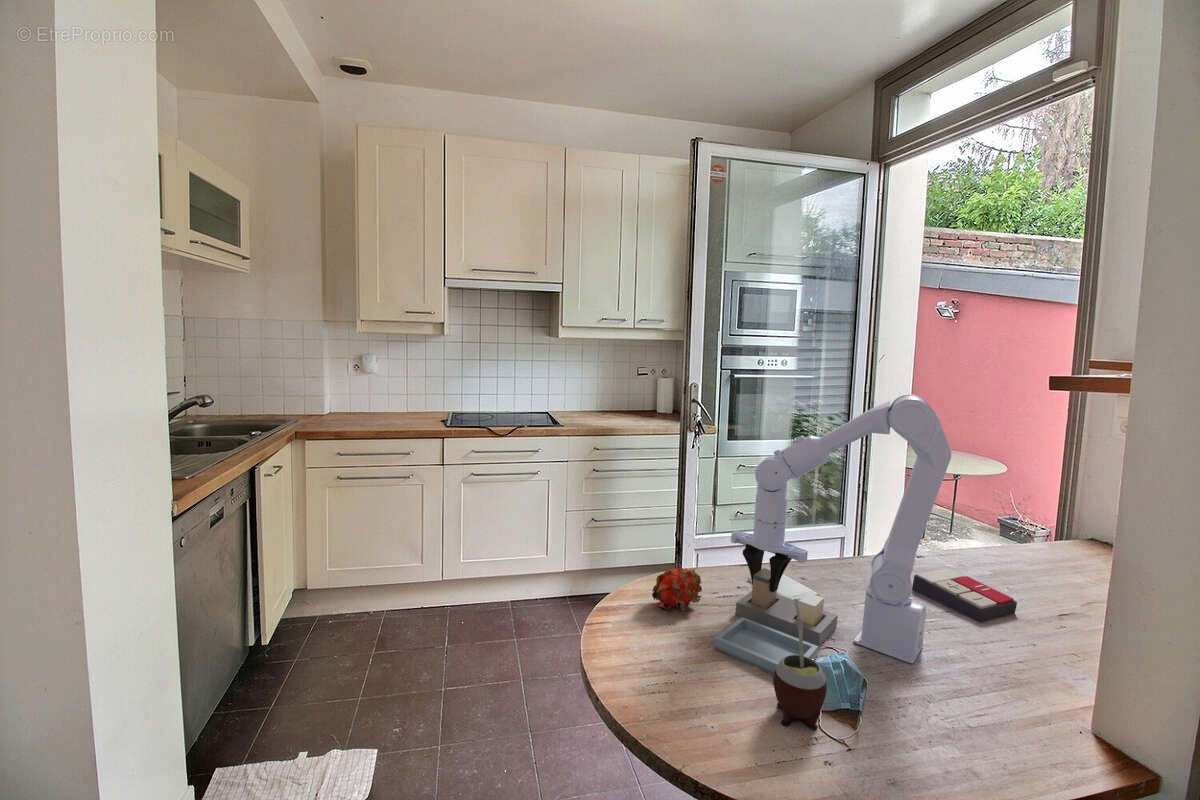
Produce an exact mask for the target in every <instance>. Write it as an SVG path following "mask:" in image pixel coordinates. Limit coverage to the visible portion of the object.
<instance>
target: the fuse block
mask: <svg viewBox="0 0 1200 800" xmlns="http://www.w3.org/2000/svg"><path fill="white" fill-rule="evenodd" d="M751 600H752V590H751V591H749V592H748V593H747V594H745V595H744V596H743V597H741V598H740V599H739V600H738V601H736V602H735V615H736V616H738V617H740V618H741V617H744V618H746V619H749V620H751V621H754V622H757V623H759V624H762V625H764V626H767V627H770V628H772V629H775V630H777V631H780V632H782V633H785V634H788V635H790V636H793V637H795V638H798V639H799V629H798V626H797V625H798V624H797V621H798V620H797V611H796V607H795V603H794V600H792V599H790V598H787V597H784V596H781V595H778V594H777V595H776V602H775V603H774V604H773V605H772V606H770V607H769V608H768V609H765V608H762V607H760V606H757V605H754V604H751ZM837 625H838V614H836V613H833V612H830V611H827V610H824V609H823V615H822V621H821V622H820V623H819V624H818V625H817V626H816V627H814V626H812V625H809V624H806V623H803V628H802V632H803V641H806V642H808V643H811V644H814V645H816V646H818V648H820V647H821V645H822V644H823V643H824V642H825V641H826V640H827V639H828V638H829V636H830V635H831V634H833V632H834V631H835V630H836V629H837V628H838V627H837Z"/></svg>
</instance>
